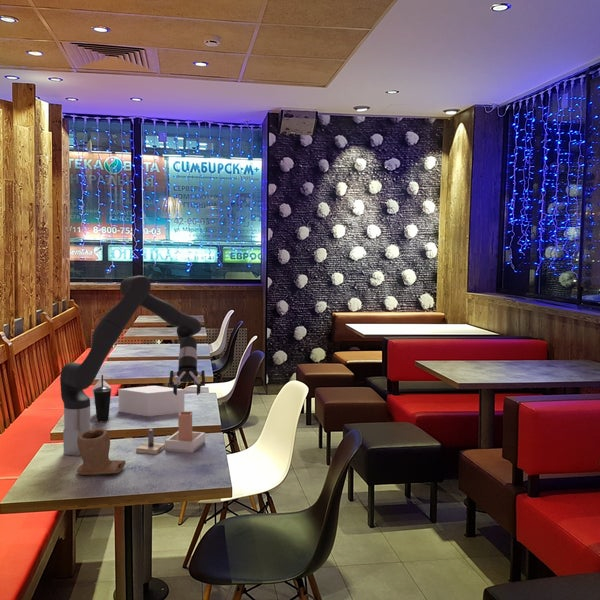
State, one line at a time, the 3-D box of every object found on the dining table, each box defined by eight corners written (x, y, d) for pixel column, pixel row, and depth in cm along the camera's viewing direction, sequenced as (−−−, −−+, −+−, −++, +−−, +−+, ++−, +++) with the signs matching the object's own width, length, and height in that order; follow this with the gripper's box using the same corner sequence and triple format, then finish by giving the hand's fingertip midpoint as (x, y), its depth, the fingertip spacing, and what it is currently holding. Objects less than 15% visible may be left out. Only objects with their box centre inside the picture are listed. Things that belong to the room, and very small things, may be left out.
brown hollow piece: (71, 480, 214) (71, 435, 213) (81, 467, 226) (81, 425, 225) (118, 479, 215) (118, 435, 214) (126, 467, 227) (125, 425, 226)
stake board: (156, 454, 241) (156, 450, 241) (136, 452, 243) (136, 448, 243) (165, 447, 249) (165, 443, 249) (145, 445, 250) (145, 441, 250)
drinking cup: (115, 419, 285) (115, 374, 283) (102, 423, 278) (101, 377, 277) (103, 417, 289) (102, 372, 287) (89, 421, 282) (89, 375, 280)
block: (122, 407, 306) (122, 385, 305) (186, 408, 307) (186, 385, 306) (114, 416, 291) (114, 392, 290) (181, 416, 292) (181, 393, 291)
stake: (153, 447, 244) (153, 430, 244) (147, 447, 244) (147, 430, 244) (153, 444, 247) (153, 428, 246) (148, 444, 247) (148, 428, 246)
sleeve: (191, 445, 248) (191, 415, 247) (178, 446, 247) (178, 415, 246) (192, 441, 253) (192, 411, 252) (179, 442, 252) (179, 411, 251)
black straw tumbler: (112, 415, 292) (111, 380, 291) (92, 416, 289) (92, 381, 288) (110, 410, 300) (110, 376, 299) (91, 412, 297) (91, 377, 295)
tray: (192, 453, 243) (192, 442, 242) (165, 450, 245) (165, 440, 245) (205, 442, 255) (205, 432, 255) (178, 440, 258) (178, 430, 257)
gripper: (169, 355, 265) (168, 389, 255) (205, 354, 267) (204, 388, 257) (170, 365, 271) (169, 399, 261) (205, 365, 273) (205, 398, 263)
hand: (186, 394), depth 259 cm, fingers open, 8 cm apart
